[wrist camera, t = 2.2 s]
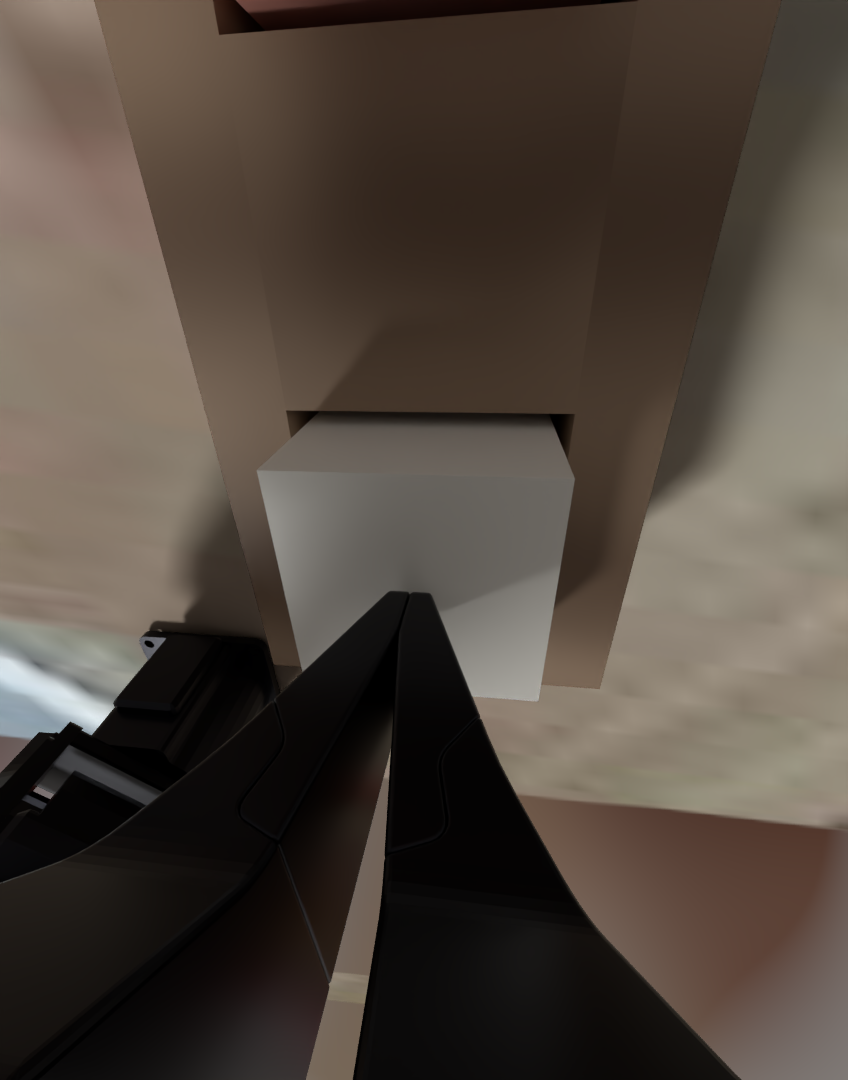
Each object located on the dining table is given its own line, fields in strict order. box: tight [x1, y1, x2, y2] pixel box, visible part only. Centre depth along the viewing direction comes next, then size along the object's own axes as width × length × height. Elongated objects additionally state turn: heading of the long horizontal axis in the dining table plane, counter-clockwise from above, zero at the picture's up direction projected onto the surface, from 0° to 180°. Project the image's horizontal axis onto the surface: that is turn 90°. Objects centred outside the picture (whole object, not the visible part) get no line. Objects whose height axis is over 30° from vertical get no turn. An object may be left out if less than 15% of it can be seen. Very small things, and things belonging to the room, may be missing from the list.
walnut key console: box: [94, 0, 781, 689], centre depth 11 cm, size 22×10×6 cm, turn 1°
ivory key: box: [257, 411, 575, 701], centre depth 11 cm, size 6×6×4 cm
